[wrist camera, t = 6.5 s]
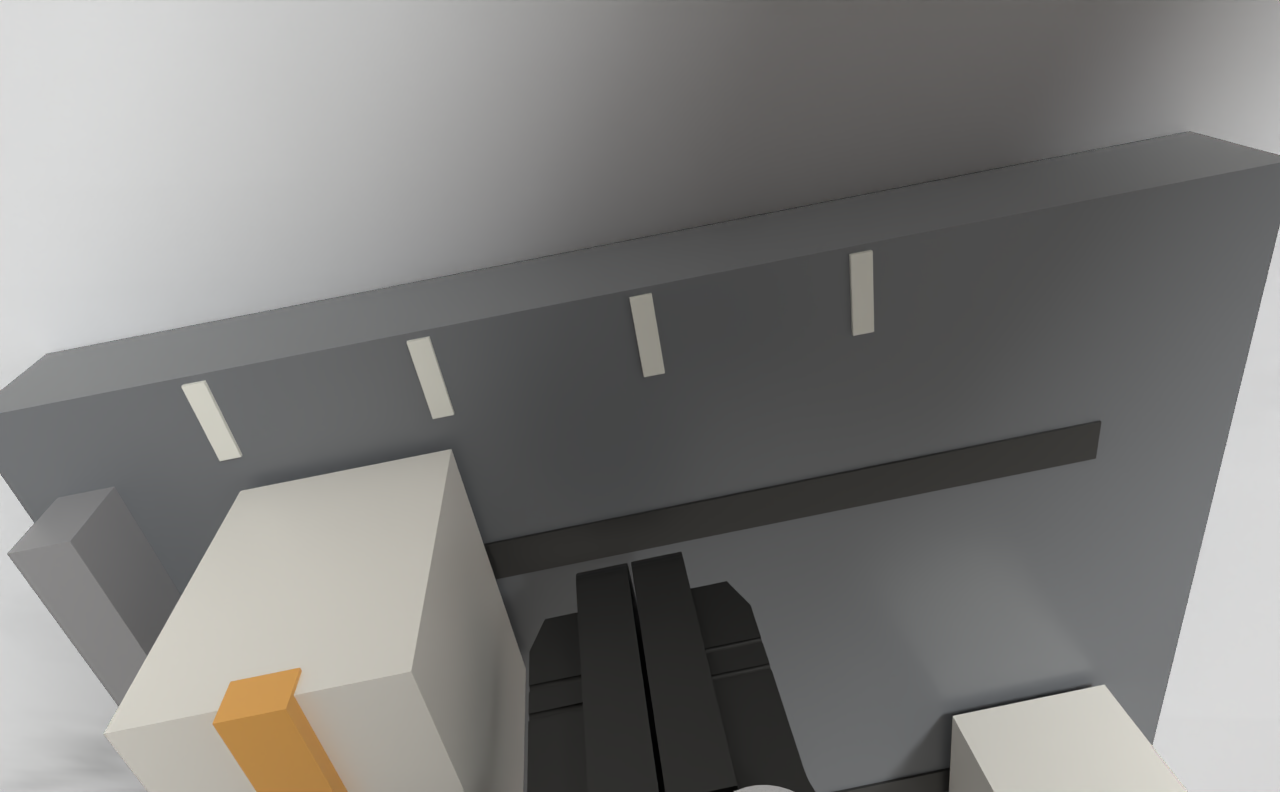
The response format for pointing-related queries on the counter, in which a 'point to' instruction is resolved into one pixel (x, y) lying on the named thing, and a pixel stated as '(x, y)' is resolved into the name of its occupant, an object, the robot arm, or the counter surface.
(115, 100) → the counter surface
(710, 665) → the robot arm
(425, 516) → the fader
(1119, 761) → the fader
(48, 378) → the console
